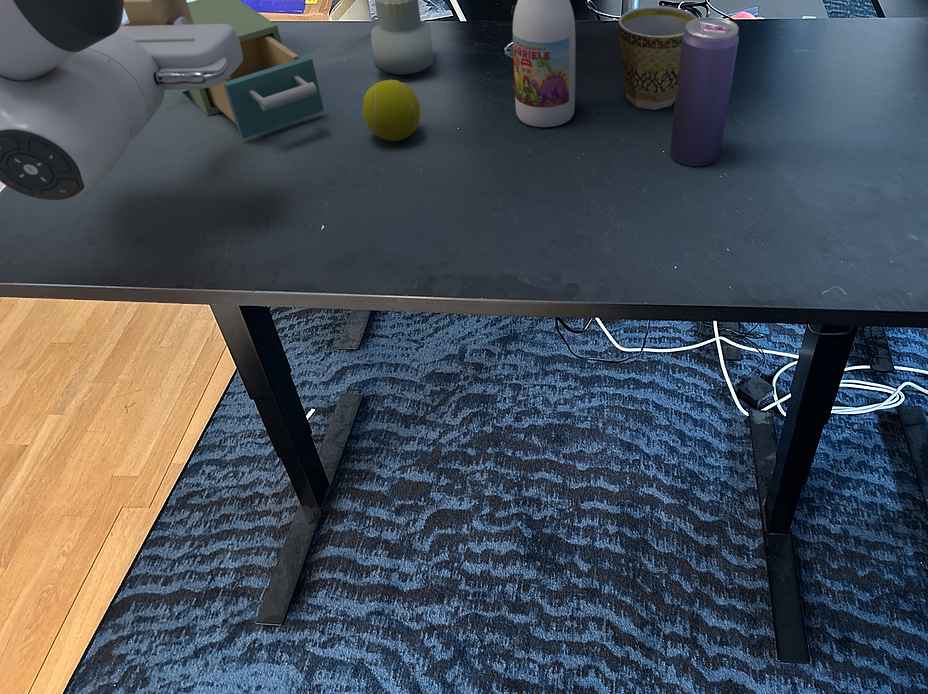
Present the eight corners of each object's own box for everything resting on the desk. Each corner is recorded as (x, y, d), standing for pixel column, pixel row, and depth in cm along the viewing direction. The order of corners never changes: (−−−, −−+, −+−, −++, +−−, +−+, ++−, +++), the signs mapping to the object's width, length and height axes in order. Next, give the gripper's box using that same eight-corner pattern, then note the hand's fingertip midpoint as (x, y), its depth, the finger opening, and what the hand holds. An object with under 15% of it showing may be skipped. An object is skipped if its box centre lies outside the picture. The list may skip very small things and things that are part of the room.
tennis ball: (417, 120, 101) (410, 66, 96) (428, 145, 96) (421, 90, 91) (364, 128, 100) (354, 75, 95) (373, 154, 95) (362, 99, 90)
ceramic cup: (679, 120, 99) (689, 40, 92) (605, 109, 102) (608, 31, 94) (700, 78, 107) (710, 1, 100) (631, 69, 110) (636, -6, 103)
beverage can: (714, 171, 90) (735, 40, 79) (664, 163, 92) (678, 34, 81) (723, 147, 94) (745, 19, 83) (675, 140, 96) (690, 13, 85)
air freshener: (436, 80, 109) (427, 6, 102) (377, 85, 108) (364, 11, 101) (432, 49, 117) (424, -23, 109) (377, 54, 116) (365, -18, 109)
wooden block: (182, 89, 83) (150, 1, 77) (155, 90, 83) (121, 1, 77) (205, 58, 89) (177, -27, 82) (180, 59, 89) (150, -26, 82)
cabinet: (293, 88, 109) (277, 25, 102) (208, 116, 103) (185, 51, 97) (245, 52, 118) (227, -9, 112) (164, 76, 113) (141, 14, 106)
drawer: (341, 123, 99) (329, 70, 94) (259, 153, 95) (242, 99, 90) (273, 72, 110) (260, 23, 105) (197, 96, 106) (179, 46, 101)
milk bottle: (528, 98, 105) (523, -68, 90) (582, 106, 103) (585, -63, 88) (507, 124, 100) (497, -47, 85) (563, 133, 98) (563, -41, 83)
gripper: (207, 45, 70) (248, -10, 79) (-14, 50, 70) (53, -5, 80) (229, 112, 74) (265, 52, 84) (21, 116, 75) (81, 56, 84)
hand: (160, 24), depth 82 cm, fingers closed on wooden block, 3 cm apart
